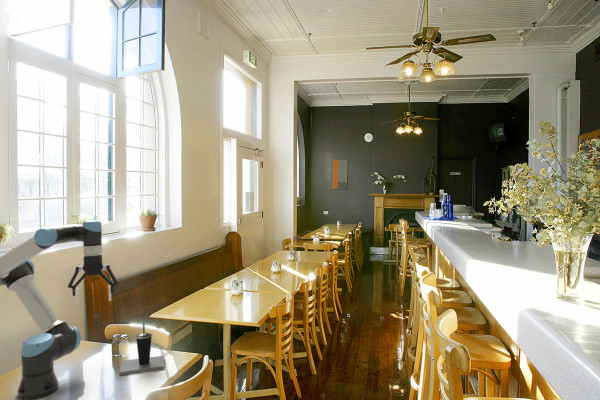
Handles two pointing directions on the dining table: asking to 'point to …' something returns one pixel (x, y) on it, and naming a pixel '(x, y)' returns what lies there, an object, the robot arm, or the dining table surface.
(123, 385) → the dining table surface
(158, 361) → the slate board
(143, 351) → the drinking cup
